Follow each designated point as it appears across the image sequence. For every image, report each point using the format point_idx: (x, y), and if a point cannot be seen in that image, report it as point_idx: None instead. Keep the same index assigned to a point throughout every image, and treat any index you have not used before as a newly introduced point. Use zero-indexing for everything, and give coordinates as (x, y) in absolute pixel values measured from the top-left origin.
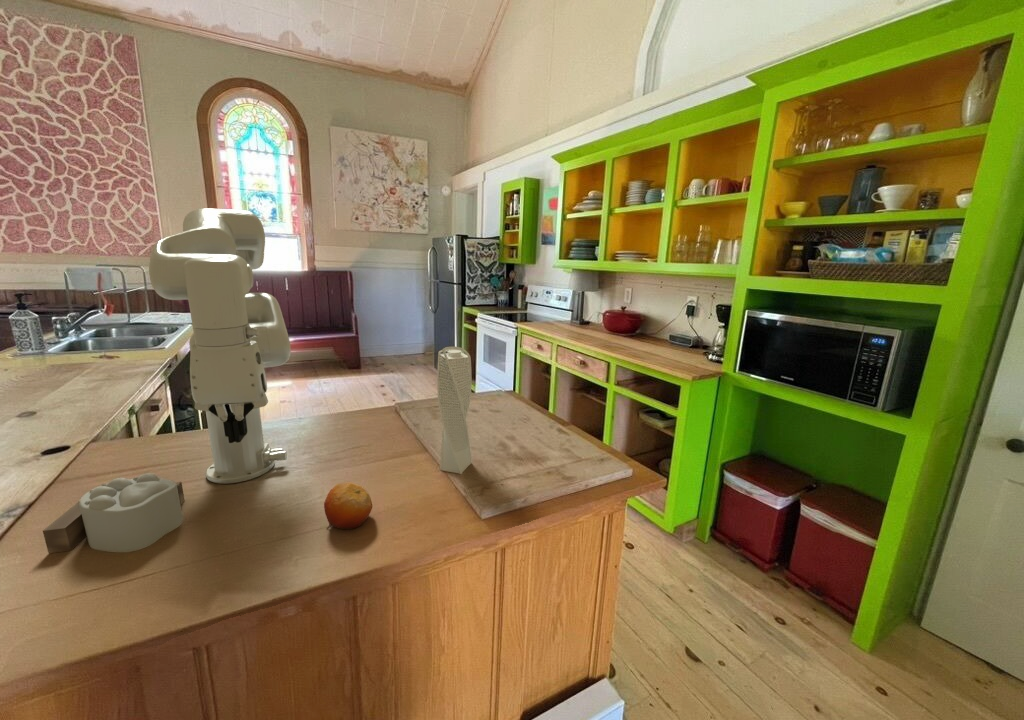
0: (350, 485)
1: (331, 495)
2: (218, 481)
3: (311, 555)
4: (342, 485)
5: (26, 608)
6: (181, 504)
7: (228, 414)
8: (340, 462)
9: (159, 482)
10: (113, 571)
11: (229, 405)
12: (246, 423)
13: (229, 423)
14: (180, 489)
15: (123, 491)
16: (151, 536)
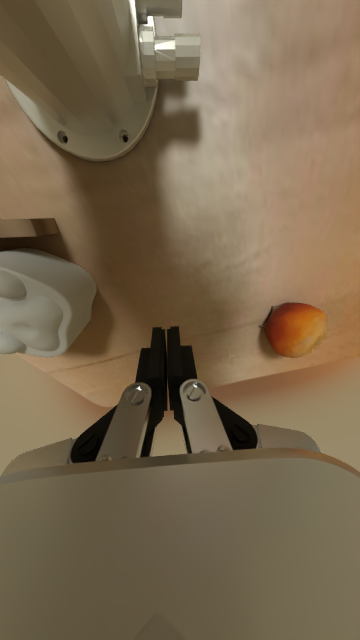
0: (316, 341)
1: (287, 349)
2: (71, 153)
3: (243, 355)
4: (306, 340)
5: (57, 373)
6: (58, 232)
7: (154, 424)
8: (314, 85)
9: (44, 316)
10: (86, 348)
11: (144, 435)
12: (194, 363)
13: (163, 411)
14: (41, 228)
15: (13, 336)
16: (87, 322)
